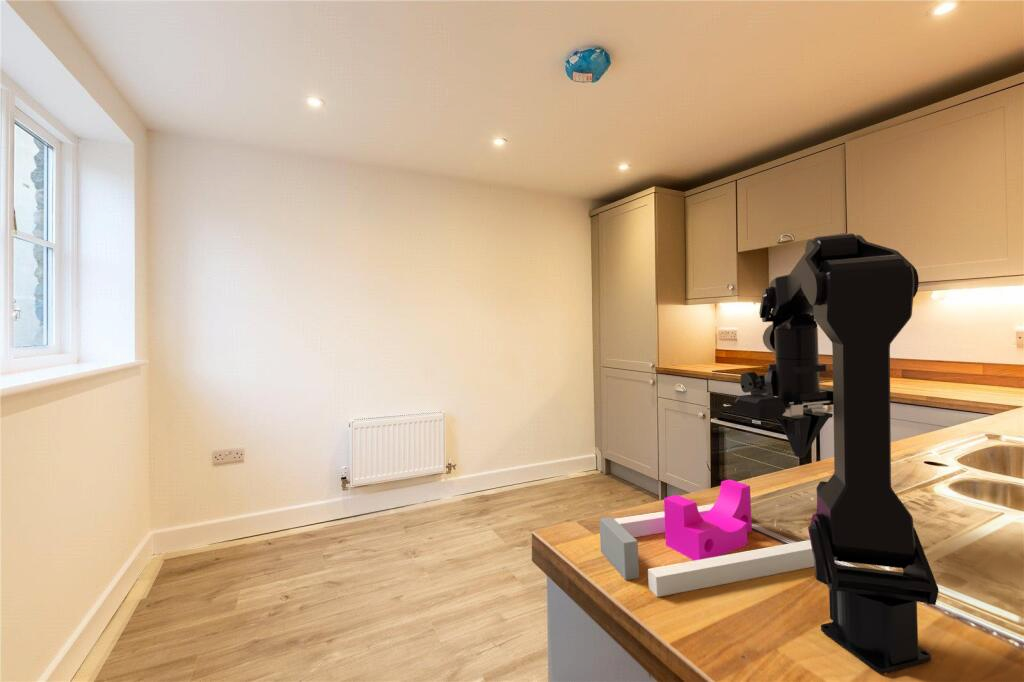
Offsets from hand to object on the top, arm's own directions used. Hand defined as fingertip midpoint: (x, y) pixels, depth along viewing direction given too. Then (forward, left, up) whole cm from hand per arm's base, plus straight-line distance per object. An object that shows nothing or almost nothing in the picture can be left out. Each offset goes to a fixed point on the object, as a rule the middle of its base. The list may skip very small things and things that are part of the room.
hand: (799, 456), depth 69 cm
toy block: (+2, +14, -12) cm, 19 cm away
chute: (0, +19, -12) cm, 22 cm away
